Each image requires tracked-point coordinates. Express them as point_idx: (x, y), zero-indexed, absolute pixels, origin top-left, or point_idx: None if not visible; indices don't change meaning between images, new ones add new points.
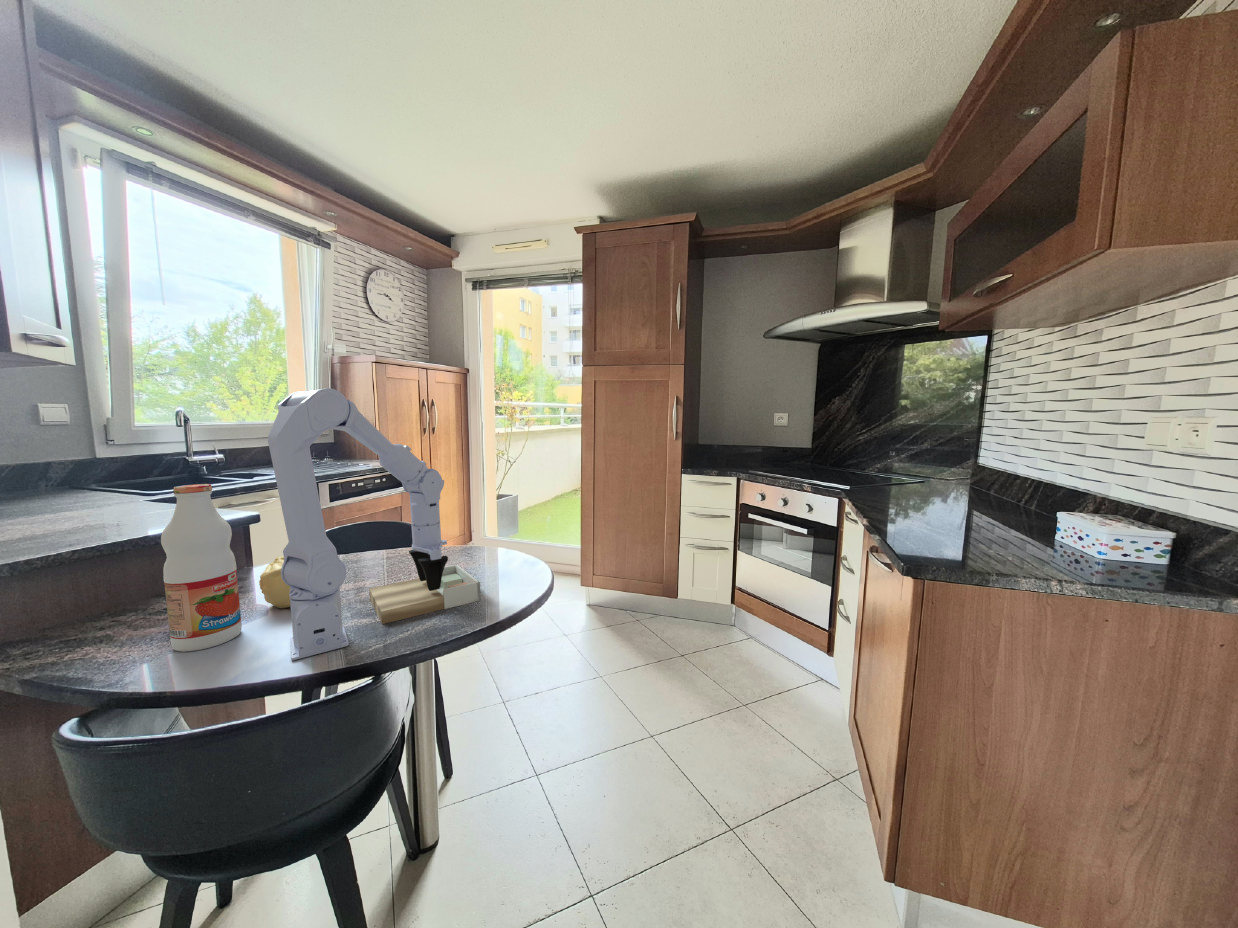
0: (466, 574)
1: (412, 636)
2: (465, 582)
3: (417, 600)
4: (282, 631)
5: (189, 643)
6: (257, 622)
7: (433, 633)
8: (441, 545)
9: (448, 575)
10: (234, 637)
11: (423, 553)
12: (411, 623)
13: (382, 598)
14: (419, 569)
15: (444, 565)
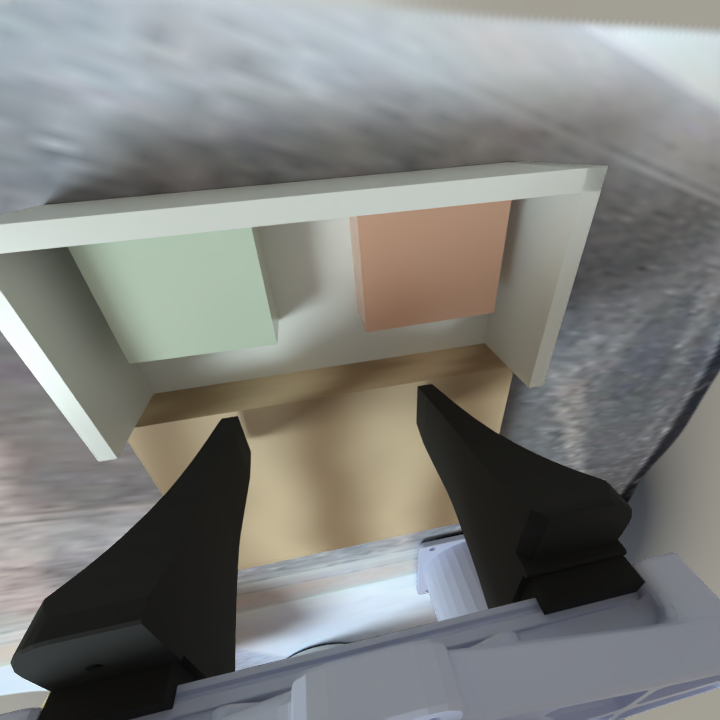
0: (346, 216)
1: (601, 423)
2: (365, 224)
3: None
4: (354, 607)
5: None
6: (271, 645)
7: (637, 381)
8: (556, 675)
9: (126, 304)
10: (341, 644)
11: (209, 624)
12: (519, 428)
13: (361, 530)
14: (238, 516)
15: (556, 465)
